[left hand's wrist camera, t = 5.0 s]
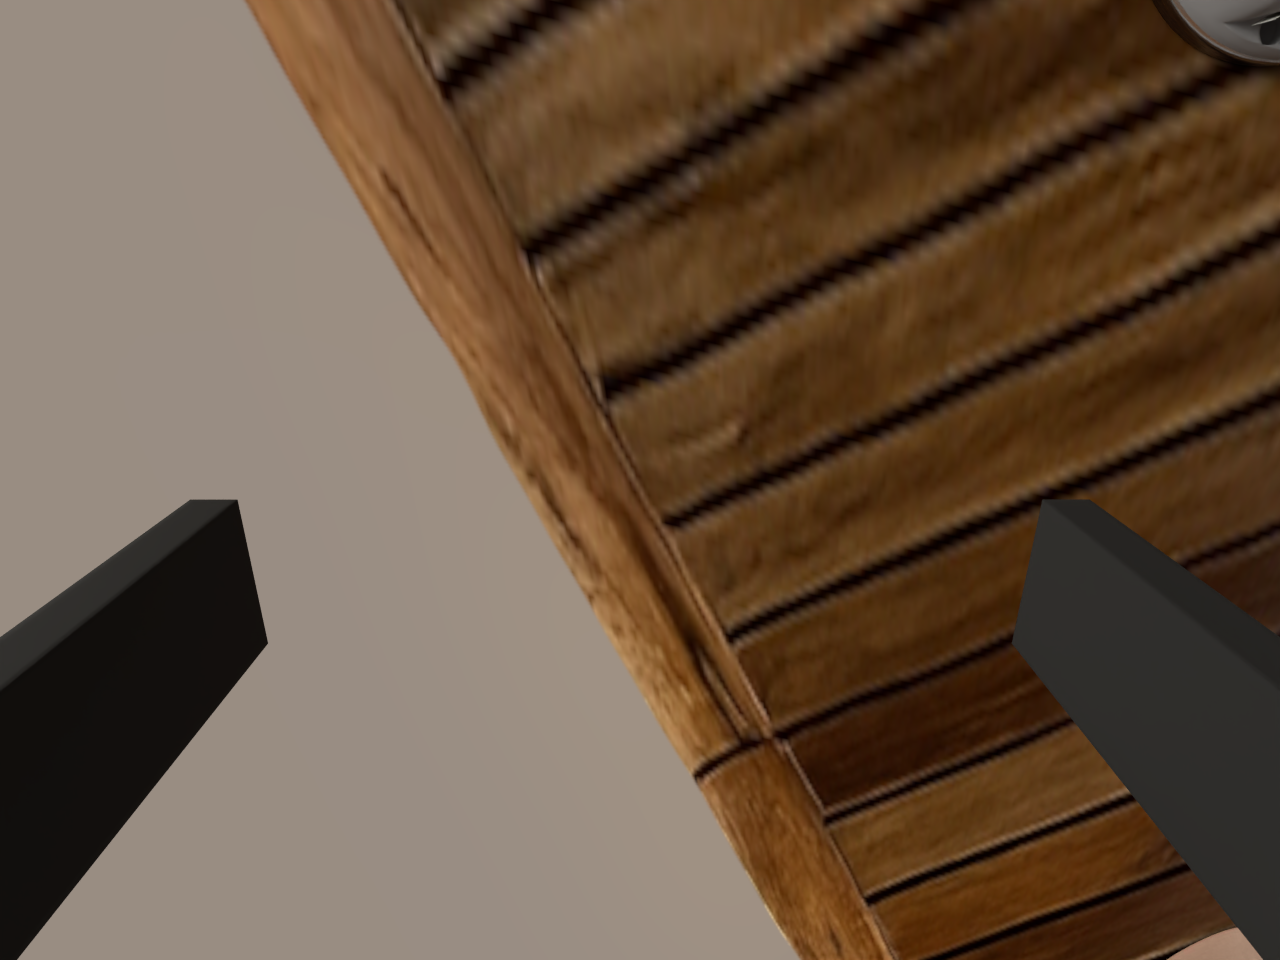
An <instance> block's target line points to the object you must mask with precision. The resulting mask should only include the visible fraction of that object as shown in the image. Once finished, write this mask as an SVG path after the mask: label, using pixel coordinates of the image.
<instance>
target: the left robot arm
mask: <svg viewBox="0 0 1280 960" xmlns="http://www.w3.org/2000/svg"><path fill="white" fill-rule="evenodd" d="M1153 2H1154V4H1155V6H1156V8H1157V9H1158V11H1159V12H1160V14H1161V15H1162V17H1163V18H1164V20H1165V21H1166V22H1167V23H1168V24H1169V26H1170V27H1171V28H1172V29H1173V30H1174V31H1175V32H1176V33H1177V34H1178V35H1179V36H1180V37H1181V38H1182V39H1183V40H1185V41H1186V42H1187V43H1189V44H1190V45H1192V46H1193V47H1194V48H1196V49H1197V50H1199V51H1201V52H1203V53H1205V54H1207V55H1209V56H1211V57H1214V58H1217V59H1219V60H1222V61H1225V62H1229V63H1234V64H1238V65H1246V66H1277V65H1280V0H1153ZM267 644H268V641H267V636H266V632H265V627H264V622H263V618H262V613H261V608H260V604H259V599H258V594H257V590H256V585H255V580H254V575H253V571H252V566H251V561H250V557H249V552H248V547H247V542H246V538H245V533H244V528H243V524H242V519H241V514H240V510H239V505H238V500H189V501H188V502H187V503H185V504H184V505H182V506H181V507H180V508H178V509H177V510H176V511H174V512H173V513H171V514H170V515H169V516H167V517H166V518H164V519H163V520H162V521H160V522H159V523H158V524H156V525H155V526H153V527H152V528H151V529H149V530H148V531H147V532H145V533H144V534H142V535H141V536H140V537H138V538H137V539H135V540H134V541H133V542H131V543H130V544H129V545H127V546H126V547H124V548H123V549H122V550H120V551H119V552H118V553H116V554H115V555H113V556H112V557H111V558H109V559H108V560H106V561H105V562H104V563H102V564H101V565H100V566H98V567H97V568H95V569H94V570H93V571H91V572H90V573H88V574H87V575H86V576H84V577H83V578H82V579H80V580H79V581H77V582H76V583H75V584H73V585H72V586H70V587H69V588H68V589H66V590H65V591H64V592H62V593H61V594H59V595H58V596H57V597H55V598H54V599H53V600H51V601H50V602H48V603H47V604H46V605H44V606H43V607H41V608H40V609H39V610H37V611H36V612H35V613H33V614H32V615H30V616H29V617H28V618H26V619H25V620H23V621H22V622H21V623H19V624H18V625H17V626H15V627H14V628H12V629H11V630H10V631H8V632H7V633H5V634H4V635H3V636H1V637H0V960H17V959H18V958H19V956H20V955H21V954H22V953H23V951H24V950H25V949H26V948H27V946H28V945H29V944H30V943H31V941H32V940H33V939H34V938H35V936H36V935H37V934H38V933H39V931H40V930H41V929H42V927H43V926H44V925H45V924H46V922H47V921H48V920H49V919H50V917H51V916H52V915H53V914H54V912H55V911H56V910H57V909H58V907H59V906H60V905H61V904H62V902H63V901H64V900H65V898H66V897H67V896H68V895H69V893H70V892H71V891H72V890H73V888H74V887H75V886H76V885H77V883H78V882H79V881H80V880H81V878H82V877H83V876H84V875H85V873H86V872H87V871H88V870H89V868H90V867H91V866H92V864H93V863H94V862H95V861H96V859H97V858H98V857H99V856H100V854H101V853H102V852H103V851H104V849H105V848H106V847H107V846H108V844H109V843H110V842H111V840H112V839H113V838H114V837H115V835H116V834H117V833H118V832H119V830H120V829H121V828H122V827H123V825H124V824H125V823H126V822H127V820H128V819H129V818H130V817H131V815H132V814H133V813H134V812H135V810H136V809H137V808H138V806H139V805H140V804H141V803H142V801H143V800H144V799H145V798H146V796H147V795H148V794H149V793H150V791H151V790H152V789H153V788H154V786H155V785H156V784H157V783H158V781H159V780H160V779H161V777H162V776H163V775H164V774H165V772H166V771H167V770H168V769H169V767H170V766H171V765H172V764H173V762H174V761H175V760H176V759H177V757H178V756H179V755H180V754H181V752H182V751H183V750H184V749H185V747H186V746H187V745H188V743H189V742H190V741H191V740H192V738H193V737H194V736H195V735H196V733H197V732H198V731H199V730H200V728H201V727H202V726H203V725H204V723H205V722H206V721H207V720H208V718H209V717H210V716H211V715H212V713H213V712H214V711H215V709H216V708H217V707H218V706H219V704H220V703H221V702H222V701H223V699H224V698H225V697H226V696H227V694H228V693H229V692H230V691H231V689H232V688H233V687H234V686H235V684H236V683H237V682H238V680H239V679H240V678H241V677H242V675H243V674H244V673H245V672H246V670H247V669H248V668H249V667H250V665H251V664H252V663H253V662H254V660H255V659H256V658H257V657H258V655H259V654H260V653H261V651H262V650H263V649H264V648H265V646H266V645H267ZM1012 644H1013V645H1014V646H1015V648H1016V649H1017V650H1018V652H1019V653H1020V654H1021V655H1022V657H1023V658H1024V659H1025V660H1026V662H1027V663H1028V664H1029V665H1030V667H1031V668H1032V669H1033V670H1034V672H1035V673H1036V674H1037V675H1038V677H1039V678H1040V679H1041V680H1042V682H1043V683H1044V684H1045V686H1046V687H1047V688H1048V689H1049V691H1050V692H1051V693H1052V694H1053V696H1054V697H1055V698H1056V699H1057V701H1058V702H1059V703H1060V704H1061V706H1062V707H1063V708H1064V709H1065V711H1066V712H1067V713H1068V715H1069V716H1070V717H1071V718H1072V720H1073V721H1074V722H1075V723H1076V725H1077V726H1078V727H1079V728H1080V730H1081V731H1082V732H1083V733H1084V735H1085V736H1086V737H1087V738H1088V740H1089V741H1090V742H1091V744H1092V745H1093V746H1094V747H1095V749H1096V750H1097V751H1098V752H1099V754H1100V755H1101V756H1102V757H1103V759H1104V760H1105V761H1106V762H1107V764H1108V765H1109V766H1110V767H1111V769H1112V770H1113V771H1114V772H1115V774H1116V775H1117V776H1118V778H1119V779H1120V780H1121V781H1122V783H1123V784H1124V785H1125V786H1126V788H1127V789H1128V790H1129V791H1130V793H1131V794H1132V795H1133V796H1134V798H1135V799H1136V800H1137V801H1138V803H1139V804H1140V805H1141V807H1142V808H1143V809H1144V810H1145V812H1146V813H1147V814H1148V815H1149V817H1150V818H1151V819H1152V820H1153V822H1154V823H1155V824H1156V825H1157V827H1158V828H1159V829H1160V830H1161V832H1162V833H1163V834H1164V835H1165V837H1166V838H1167V839H1168V841H1169V842H1170V843H1171V844H1172V846H1173V847H1174V848H1175V849H1176V851H1177V852H1178V853H1179V854H1180V856H1181V857H1182V858H1183V859H1184V861H1185V862H1186V863H1187V864H1188V866H1189V867H1190V868H1191V870H1192V871H1193V872H1194V873H1195V875H1196V876H1197V877H1198V878H1199V880H1200V881H1201V882H1202V883H1203V885H1204V886H1205V887H1206V888H1207V890H1208V891H1209V892H1210V893H1211V895H1212V896H1213V897H1214V899H1215V900H1216V901H1217V902H1218V904H1219V905H1220V906H1221V907H1222V909H1223V910H1224V911H1225V912H1226V914H1227V915H1228V916H1229V917H1230V919H1231V920H1232V921H1233V922H1234V924H1235V925H1236V926H1237V927H1238V929H1239V930H1240V931H1241V933H1242V934H1243V935H1244V936H1245V938H1246V939H1247V940H1248V941H1249V943H1250V944H1251V945H1252V946H1253V948H1254V949H1255V950H1256V951H1257V953H1258V954H1259V955H1260V956H1261V958H1262V959H1263V960H1280V637H1279V636H1277V635H1276V634H1275V633H1273V632H1272V631H1270V630H1269V629H1268V628H1266V627H1265V626H1263V625H1262V624H1261V623H1259V622H1258V621H1257V620H1255V619H1254V618H1252V617H1251V616H1250V615H1248V614H1247V613H1246V612H1244V611H1243V610H1241V609H1240V608H1239V607H1237V606H1236V605H1234V604H1233V603H1232V602H1230V601H1229V600H1228V599H1226V598H1225V597H1223V596H1222V595H1221V594H1219V593H1218V592H1216V591H1215V590H1214V589H1212V588H1211V587H1210V586H1208V585H1207V584H1205V583H1204V582H1203V581H1201V580H1200V579H1199V578H1197V577H1196V576H1194V575H1193V574H1192V573H1190V572H1189V571H1187V570H1186V569H1185V568H1183V567H1182V566H1181V565H1179V564H1178V563H1176V562H1175V561H1174V560H1172V559H1171V558H1169V557H1168V556H1167V555H1165V554H1164V553H1163V552H1161V551H1160V550H1158V549H1157V548H1156V547H1154V546H1153V545H1151V544H1150V543H1149V542H1147V541H1146V540H1145V539H1143V538H1142V537H1140V536H1139V535H1138V534H1136V533H1135V532H1134V531H1132V530H1131V529H1129V528H1128V527H1127V526H1125V525H1124V524H1122V523H1121V522H1120V521H1118V520H1117V519H1116V518H1114V517H1113V516H1111V515H1110V514H1109V513H1107V512H1106V511H1104V510H1103V509H1102V508H1100V507H1099V506H1098V505H1096V504H1095V503H1093V502H1092V501H1091V500H1042V505H1041V510H1040V514H1039V519H1038V524H1037V528H1036V533H1035V538H1034V542H1033V547H1032V552H1031V557H1030V561H1029V566H1028V571H1027V575H1026V580H1025V585H1024V589H1023V594H1022V599H1021V603H1020V608H1019V613H1018V618H1017V622H1016V627H1015V632H1014V636H1013V641H1012Z"/></svg>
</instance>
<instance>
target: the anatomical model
mask: <svg viewBox="0 0 1280 960" xmlns="http://www.w3.org/2000/svg"><path fill="white" fill-rule="evenodd" d="M1167 960H1263V959H1262V958H1261V956H1260V955H1259V954H1258V953H1257V951H1256V950H1255V949H1254V948H1253V946H1252V945H1251V944H1250V943H1249V941H1248V940H1247V939H1246V938H1245V936H1244V935H1243V934H1242V933H1241V931H1240V930H1239V929H1238V927H1235V928H1232V929H1228V930H1225V931H1222V932H1219V933H1216V934H1214V935H1212V936H1209V937H1207V938H1204V939H1202V940H1200V941H1198V942H1196V943H1194V944H1192V945H1190V946H1189V947H1187V948H1185V949H1183V950H1181V951H1180V952H1178V953H1176V954H1175V955H1173V956H1172V957H1170V958H1169V959H1167Z"/></svg>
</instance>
